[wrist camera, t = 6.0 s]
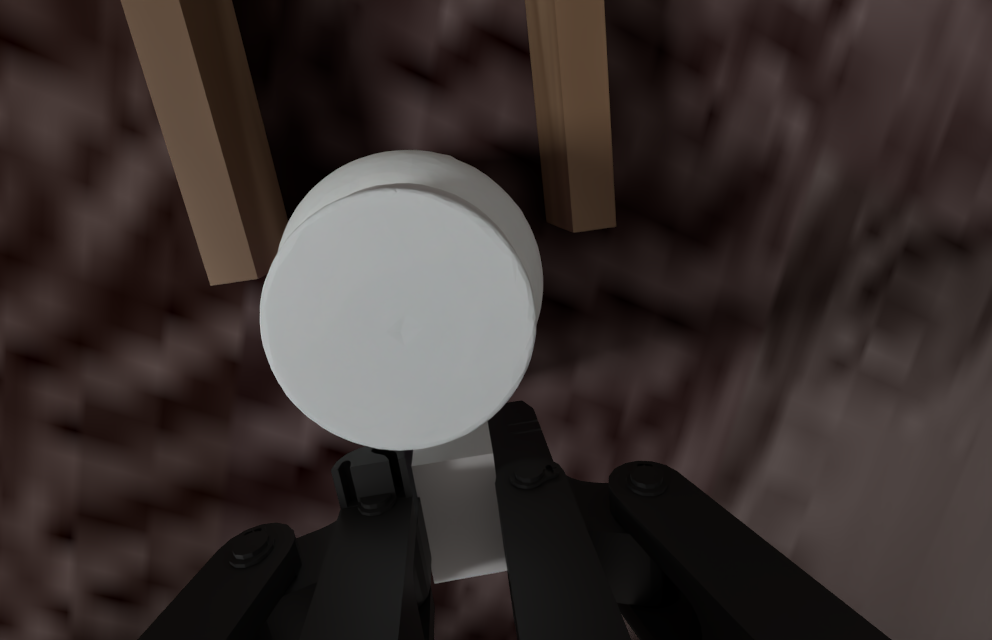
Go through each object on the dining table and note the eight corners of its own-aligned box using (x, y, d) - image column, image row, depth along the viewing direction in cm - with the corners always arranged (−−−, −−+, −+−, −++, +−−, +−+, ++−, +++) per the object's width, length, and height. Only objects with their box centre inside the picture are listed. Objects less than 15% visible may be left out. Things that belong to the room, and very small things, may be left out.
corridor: (260, 263, 16) (210, 285, 12) (169, -61, 13) (74, -146, 10) (580, 217, 16) (616, 226, 13) (556, -99, 14) (594, -191, 10)
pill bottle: (487, 333, 17) (540, 512, 8) (336, 310, 16) (196, 479, 7) (517, 180, 16) (625, 179, 6) (354, 147, 15) (209, 89, 6)
